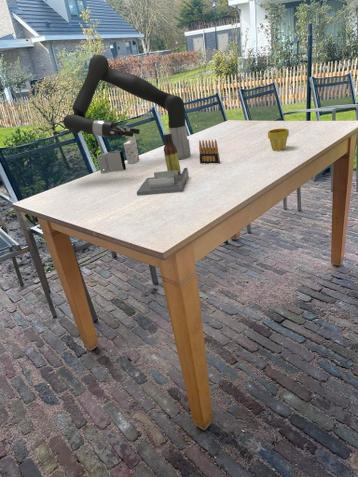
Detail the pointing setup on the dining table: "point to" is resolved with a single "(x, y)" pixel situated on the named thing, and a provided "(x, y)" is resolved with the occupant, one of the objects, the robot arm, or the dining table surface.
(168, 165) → the sauce bottle
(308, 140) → the dining table surface
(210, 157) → the ammunition clip
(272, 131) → the plant pot
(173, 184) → the plate
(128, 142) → the ink cartridge box
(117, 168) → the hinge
